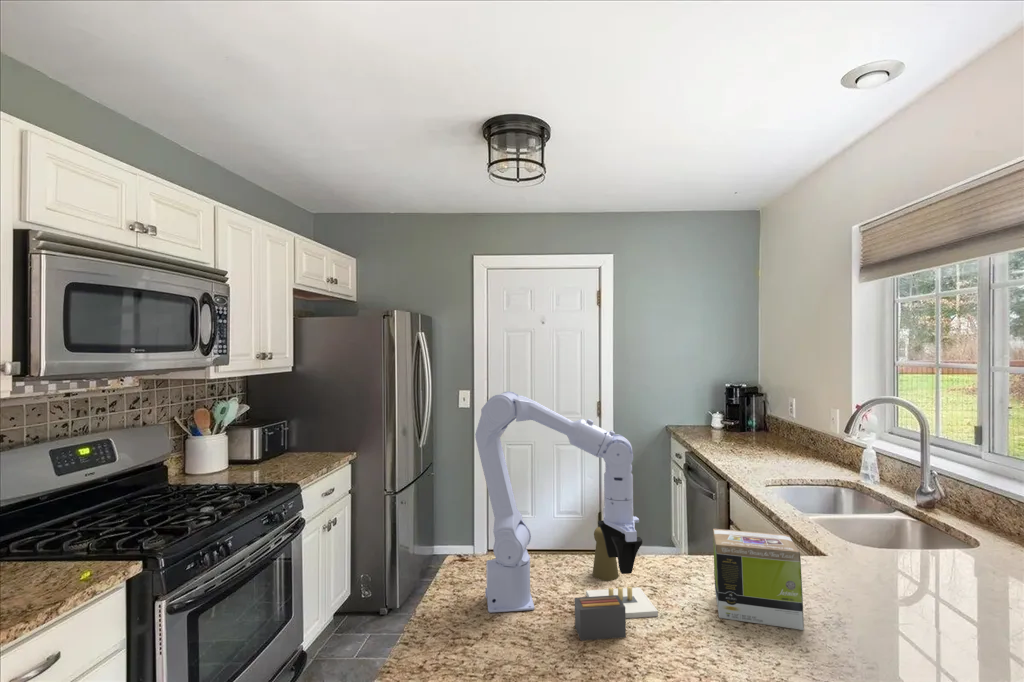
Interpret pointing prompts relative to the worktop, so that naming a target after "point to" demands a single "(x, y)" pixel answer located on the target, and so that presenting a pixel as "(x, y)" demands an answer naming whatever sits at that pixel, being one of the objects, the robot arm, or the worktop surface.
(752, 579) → the tea box
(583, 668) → the worktop surface
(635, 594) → the header board
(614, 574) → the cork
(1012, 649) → the worktop surface
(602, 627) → the block
